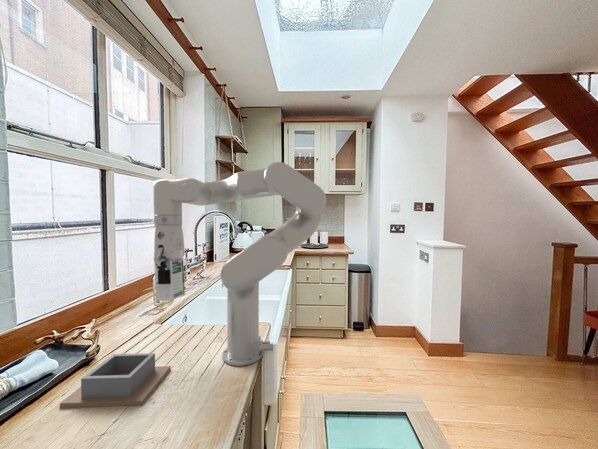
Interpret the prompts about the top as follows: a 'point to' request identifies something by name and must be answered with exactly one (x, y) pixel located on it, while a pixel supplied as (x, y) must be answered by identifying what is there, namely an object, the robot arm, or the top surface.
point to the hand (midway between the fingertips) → (170, 280)
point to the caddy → (118, 382)
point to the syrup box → (171, 280)
